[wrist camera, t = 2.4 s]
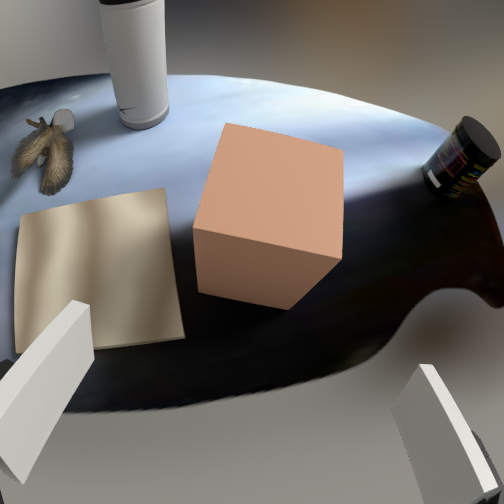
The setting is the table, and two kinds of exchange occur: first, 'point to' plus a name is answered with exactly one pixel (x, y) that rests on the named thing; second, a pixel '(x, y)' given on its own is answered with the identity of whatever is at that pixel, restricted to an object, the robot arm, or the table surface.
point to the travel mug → (137, 59)
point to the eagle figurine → (47, 151)
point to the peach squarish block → (268, 217)
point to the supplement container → (461, 159)
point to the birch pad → (99, 270)
